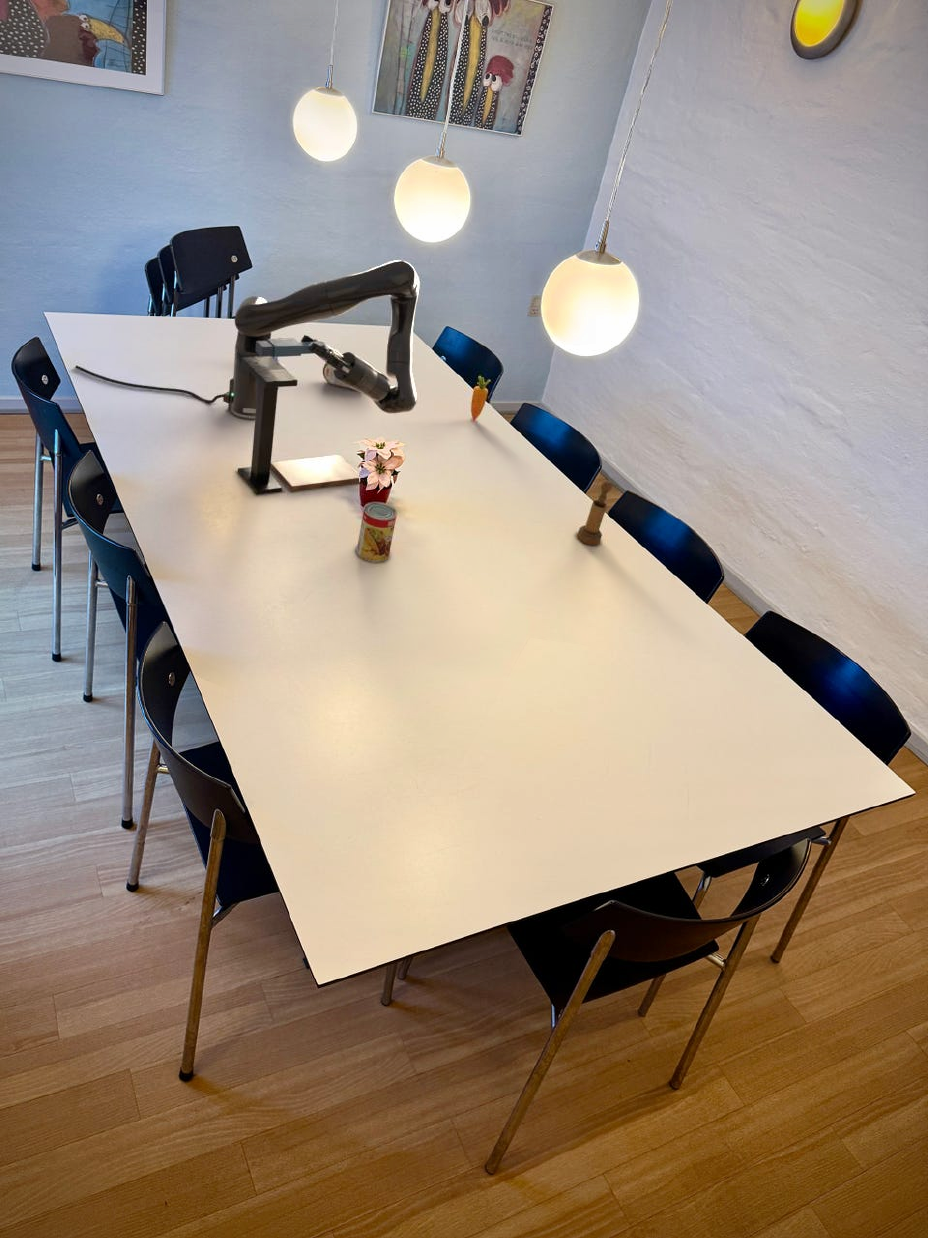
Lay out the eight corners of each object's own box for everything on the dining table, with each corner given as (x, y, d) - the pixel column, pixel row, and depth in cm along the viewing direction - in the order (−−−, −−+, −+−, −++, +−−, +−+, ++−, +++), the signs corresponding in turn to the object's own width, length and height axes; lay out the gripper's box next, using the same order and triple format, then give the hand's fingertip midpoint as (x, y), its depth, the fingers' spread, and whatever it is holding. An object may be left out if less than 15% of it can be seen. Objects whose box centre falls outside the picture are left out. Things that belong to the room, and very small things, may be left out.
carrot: (483, 420, 293) (494, 377, 284) (477, 424, 289) (487, 381, 281) (470, 415, 294) (480, 372, 286) (464, 419, 290) (474, 376, 282)
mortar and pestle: (575, 530, 245) (594, 473, 235) (597, 534, 247) (617, 477, 236) (579, 543, 240) (598, 485, 230) (601, 547, 241) (622, 489, 231)
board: (338, 460, 249) (339, 455, 248) (361, 482, 241) (362, 477, 241) (270, 467, 237) (270, 462, 236) (291, 491, 230) (292, 486, 229)
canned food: (391, 562, 213) (400, 520, 206) (359, 561, 210) (367, 518, 203) (385, 544, 219) (393, 502, 212) (354, 543, 216) (361, 501, 209)
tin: (367, 390, 292) (370, 366, 287) (365, 394, 290) (368, 369, 285) (322, 379, 292) (325, 355, 287) (320, 382, 289) (323, 358, 284)
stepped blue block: (322, 347, 219) (323, 337, 218) (330, 354, 217) (331, 344, 215) (254, 349, 209) (255, 339, 208) (262, 357, 207) (263, 347, 205)
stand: (262, 467, 236) (272, 356, 219) (285, 493, 228) (297, 380, 210) (234, 470, 232) (241, 357, 214) (256, 497, 224) (266, 381, 206)
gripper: (350, 349, 230) (302, 317, 217) (378, 372, 222) (329, 340, 209) (335, 374, 232) (286, 343, 219) (361, 397, 224) (312, 367, 210)
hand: (307, 342), depth 214 cm, fingers closed on stepped blue block, 4 cm apart
